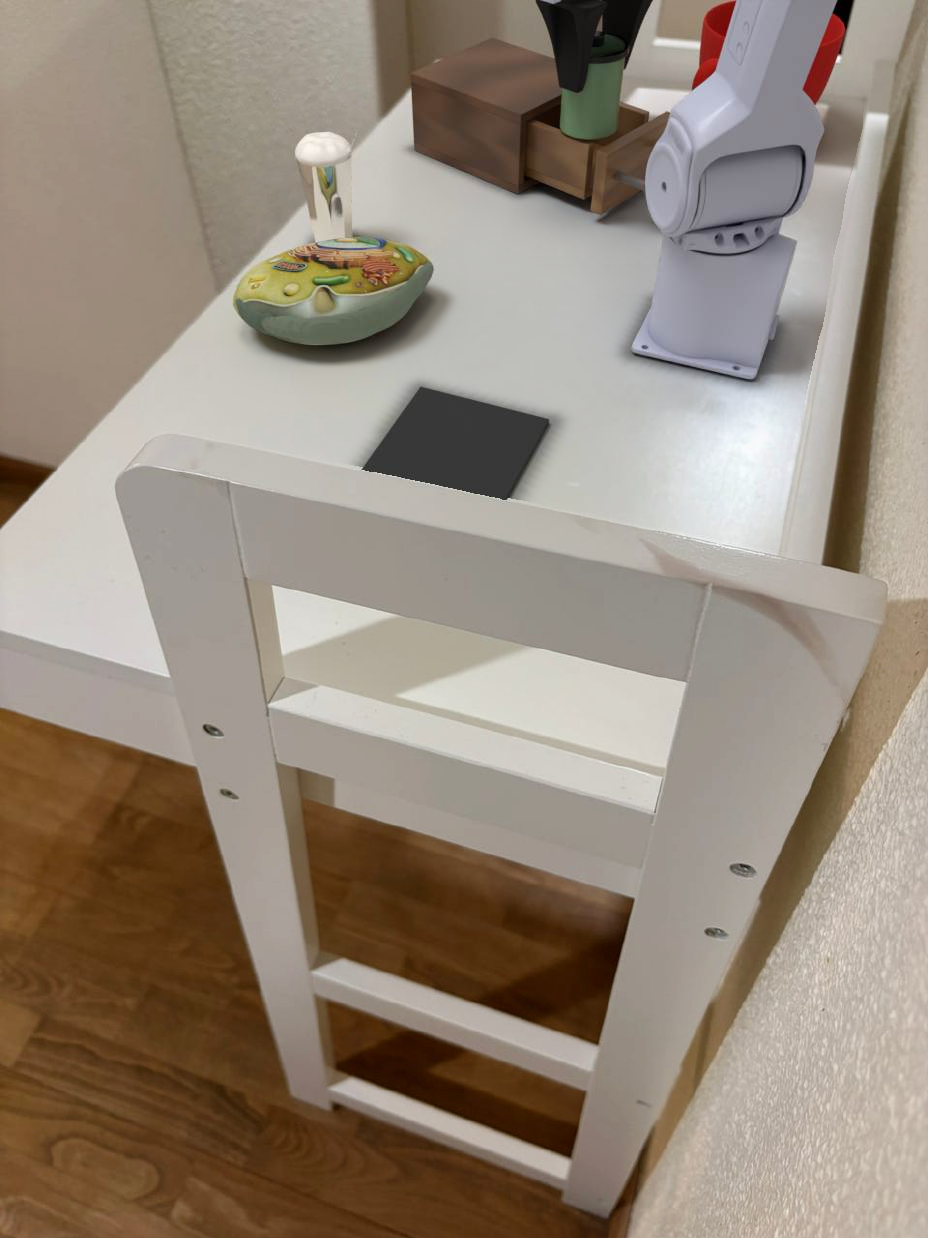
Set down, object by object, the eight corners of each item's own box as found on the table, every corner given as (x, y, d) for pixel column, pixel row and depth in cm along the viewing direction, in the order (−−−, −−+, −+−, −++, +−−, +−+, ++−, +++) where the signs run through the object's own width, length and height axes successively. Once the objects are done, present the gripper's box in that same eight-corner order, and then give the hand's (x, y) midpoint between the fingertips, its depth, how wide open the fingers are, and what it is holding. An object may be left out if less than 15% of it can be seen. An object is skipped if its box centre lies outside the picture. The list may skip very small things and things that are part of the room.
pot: (627, 118, 82) (638, 25, 76) (609, 145, 79) (619, 49, 73) (568, 109, 83) (575, 17, 77) (548, 134, 80) (553, 40, 74)
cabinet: (593, 151, 92) (601, 73, 86) (517, 194, 86) (521, 114, 81) (490, 112, 97) (492, 36, 92) (414, 150, 92) (410, 72, 87)
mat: (549, 423, 66) (549, 418, 65) (498, 515, 60) (498, 511, 59) (420, 390, 68) (420, 385, 68) (360, 476, 62) (359, 471, 62)
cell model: (218, 273, 74) (378, 171, 72) (272, 352, 79) (423, 258, 78) (232, 321, 65) (413, 206, 64) (292, 406, 71) (461, 301, 69)
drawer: (708, 189, 85) (721, 129, 81) (642, 232, 80) (651, 171, 76) (563, 134, 92) (568, 76, 88) (495, 171, 87) (496, 111, 83)
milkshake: (361, 261, 79) (349, 141, 71) (301, 255, 80) (283, 135, 72) (375, 234, 82) (365, 116, 74) (317, 228, 83) (301, 110, 75)
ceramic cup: (632, 143, 93) (647, 31, 85) (737, 95, 100) (760, -13, 92) (736, 189, 87) (762, 73, 79) (840, 134, 93) (874, 23, 86)
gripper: (626, -154, 72) (607, 40, 83) (505, -115, 66) (500, 91, 76) (703, -139, 69) (672, 61, 80) (583, -96, 63) (567, 115, 73)
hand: (593, 77), depth 78 cm, fingers closed on pot, 5 cm apart
